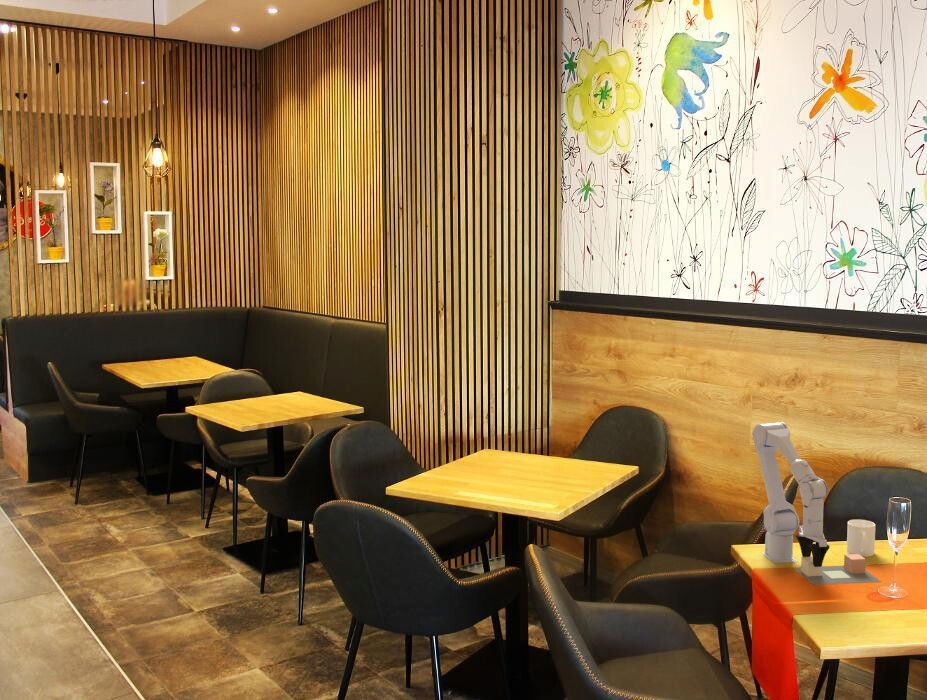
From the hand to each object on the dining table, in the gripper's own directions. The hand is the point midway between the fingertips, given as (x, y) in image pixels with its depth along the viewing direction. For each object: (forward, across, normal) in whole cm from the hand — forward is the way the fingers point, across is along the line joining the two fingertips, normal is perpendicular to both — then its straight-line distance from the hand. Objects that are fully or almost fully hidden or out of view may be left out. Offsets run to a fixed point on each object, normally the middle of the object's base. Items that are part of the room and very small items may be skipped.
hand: (811, 562), depth 284 cm
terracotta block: (+4, -1, +14) cm, 14 cm away
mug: (+4, -15, +24) cm, 28 cm away
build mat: (+4, +2, +7) cm, 8 cm away
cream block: (+4, 0, 0) cm, 4 cm away
